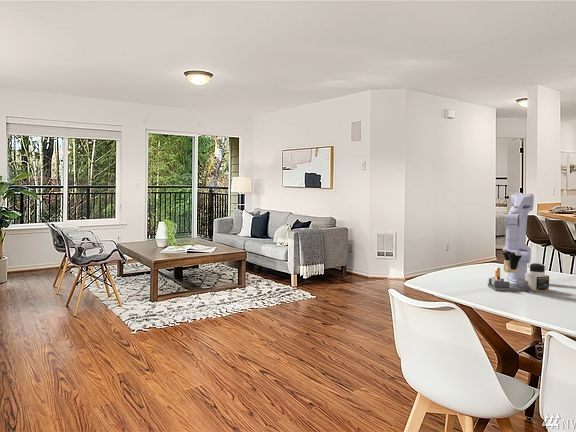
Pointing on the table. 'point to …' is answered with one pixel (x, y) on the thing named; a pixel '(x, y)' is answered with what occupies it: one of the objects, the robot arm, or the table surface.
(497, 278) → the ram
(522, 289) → the press frame
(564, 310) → the table surface
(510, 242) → the robot arm
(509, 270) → the light wooden block
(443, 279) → the table surface
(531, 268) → the medicine bottle
